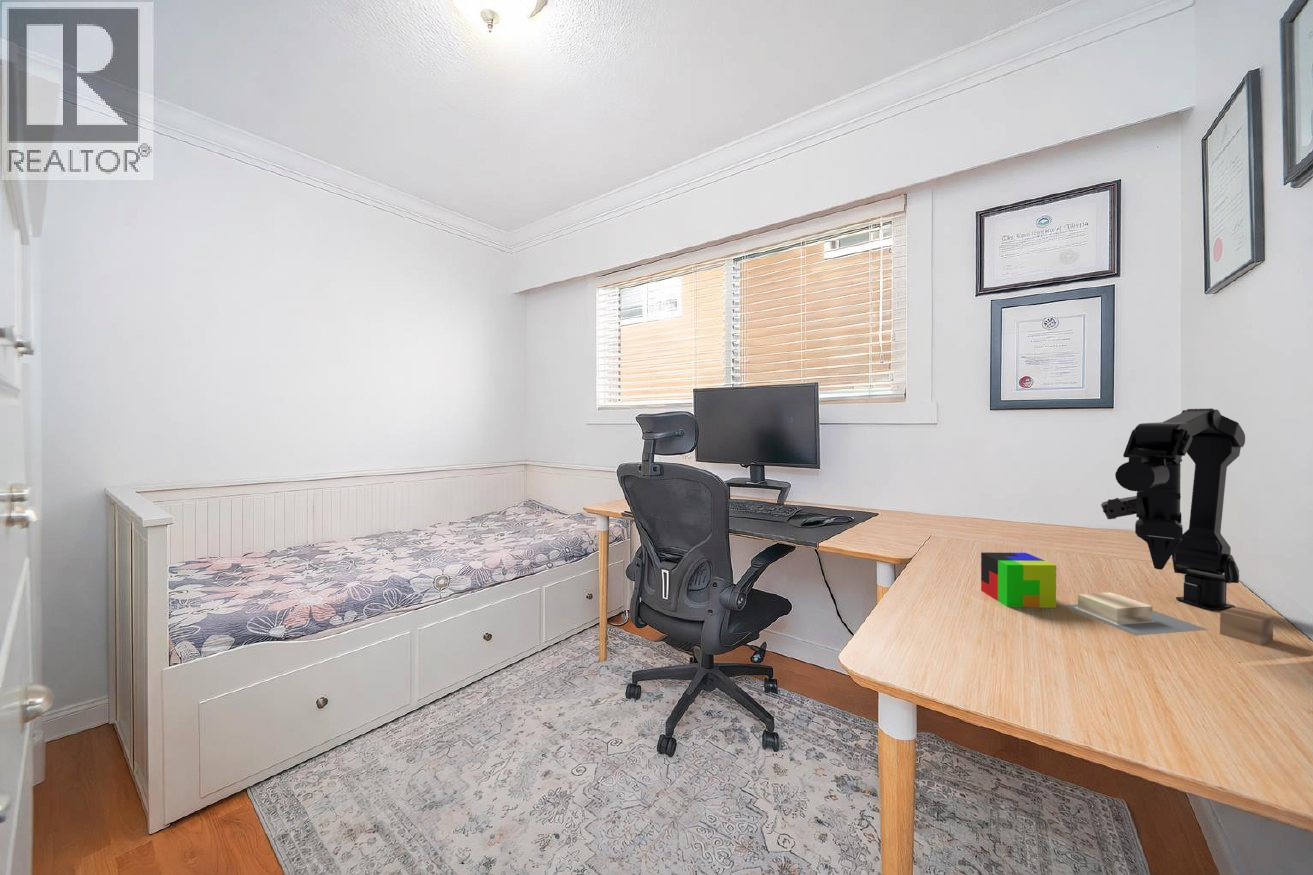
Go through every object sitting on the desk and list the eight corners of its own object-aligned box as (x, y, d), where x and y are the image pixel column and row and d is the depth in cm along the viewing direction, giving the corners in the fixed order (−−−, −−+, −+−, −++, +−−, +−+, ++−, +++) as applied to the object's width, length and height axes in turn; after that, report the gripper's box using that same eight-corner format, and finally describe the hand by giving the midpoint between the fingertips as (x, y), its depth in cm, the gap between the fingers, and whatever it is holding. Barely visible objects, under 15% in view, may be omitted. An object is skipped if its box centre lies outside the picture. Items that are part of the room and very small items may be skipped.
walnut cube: (1232, 632, 93) (1232, 607, 93) (1272, 643, 89) (1273, 616, 88) (1219, 637, 91) (1220, 611, 91) (1260, 649, 87) (1261, 621, 87)
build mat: (1125, 603, 108) (1125, 600, 108) (1209, 632, 93) (1209, 629, 93) (1060, 607, 106) (1060, 605, 106) (1135, 638, 92) (1135, 635, 92)
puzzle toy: (1025, 594, 115) (1025, 552, 115) (1055, 610, 105) (1056, 565, 105) (981, 593, 116) (981, 552, 116) (1006, 609, 106) (1007, 564, 106)
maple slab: (1110, 605, 105) (1111, 592, 105) (1152, 620, 98) (1152, 606, 97) (1077, 608, 105) (1078, 594, 105) (1116, 623, 97) (1117, 608, 97)
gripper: (1108, 478, 109) (1108, 546, 109) (1100, 489, 96) (1099, 566, 97) (1181, 481, 101) (1180, 555, 101) (1183, 494, 88) (1182, 578, 89)
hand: (1158, 563), depth 97 cm, fingers open, 9 cm apart
